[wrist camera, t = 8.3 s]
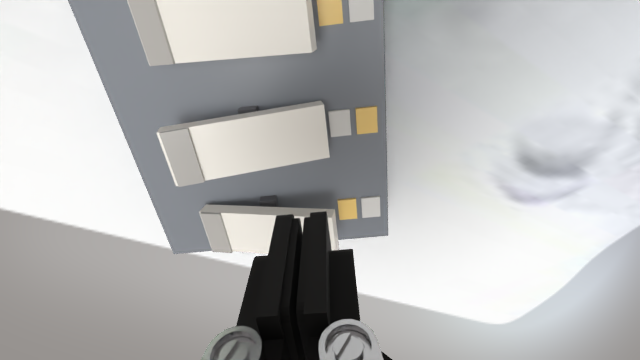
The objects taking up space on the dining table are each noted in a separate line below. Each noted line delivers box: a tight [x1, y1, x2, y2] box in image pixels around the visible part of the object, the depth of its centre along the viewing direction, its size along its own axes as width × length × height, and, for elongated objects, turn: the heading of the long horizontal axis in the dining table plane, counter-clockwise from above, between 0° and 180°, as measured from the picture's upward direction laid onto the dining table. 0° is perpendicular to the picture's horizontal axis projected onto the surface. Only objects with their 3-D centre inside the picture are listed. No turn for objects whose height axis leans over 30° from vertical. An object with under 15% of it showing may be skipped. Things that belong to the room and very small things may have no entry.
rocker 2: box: [157, 101, 330, 187], centre depth 21 cm, size 10×4×1 cm, turn 96°
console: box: [68, 0, 388, 254], centre depth 25 cm, size 18×20×6 cm
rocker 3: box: [199, 204, 339, 254], centre depth 25 cm, size 10×4×1 cm, turn 97°
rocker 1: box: [127, 0, 317, 66], centre depth 18 cm, size 10×4×1 cm, turn 97°
